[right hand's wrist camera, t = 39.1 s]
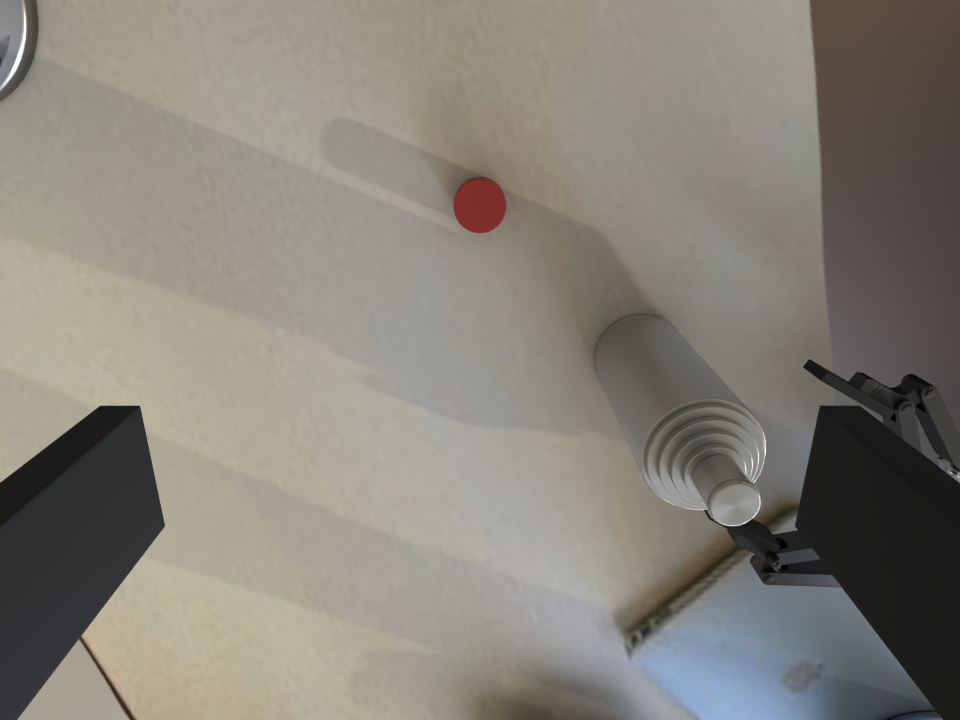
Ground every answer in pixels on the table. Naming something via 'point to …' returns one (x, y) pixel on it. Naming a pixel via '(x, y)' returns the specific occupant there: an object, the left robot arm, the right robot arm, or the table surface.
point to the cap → (479, 205)
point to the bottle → (681, 420)
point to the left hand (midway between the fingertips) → (758, 440)
